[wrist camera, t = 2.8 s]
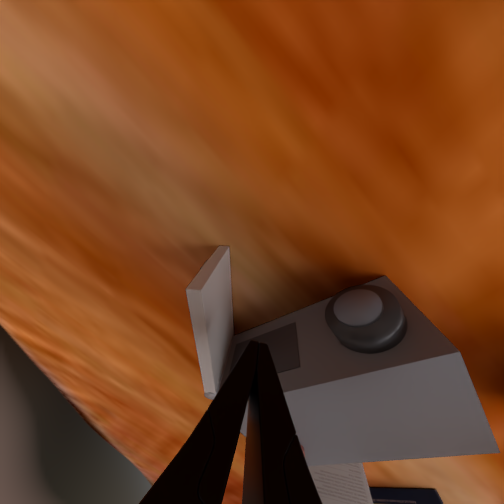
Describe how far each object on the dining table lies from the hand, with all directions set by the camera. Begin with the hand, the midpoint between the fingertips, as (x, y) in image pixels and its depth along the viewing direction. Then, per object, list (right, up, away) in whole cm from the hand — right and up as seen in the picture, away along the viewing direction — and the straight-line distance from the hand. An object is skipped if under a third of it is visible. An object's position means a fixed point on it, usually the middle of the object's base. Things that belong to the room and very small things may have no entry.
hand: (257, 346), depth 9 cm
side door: (-2, +1, +7) cm, 8 cm away
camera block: (+6, -4, +8) cm, 11 cm away
